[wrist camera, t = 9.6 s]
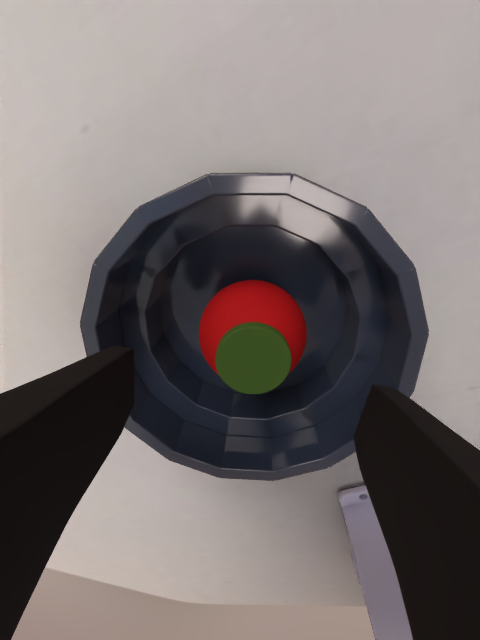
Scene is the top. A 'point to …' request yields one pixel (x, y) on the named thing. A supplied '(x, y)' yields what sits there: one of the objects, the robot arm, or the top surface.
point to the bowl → (274, 267)
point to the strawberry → (252, 335)
